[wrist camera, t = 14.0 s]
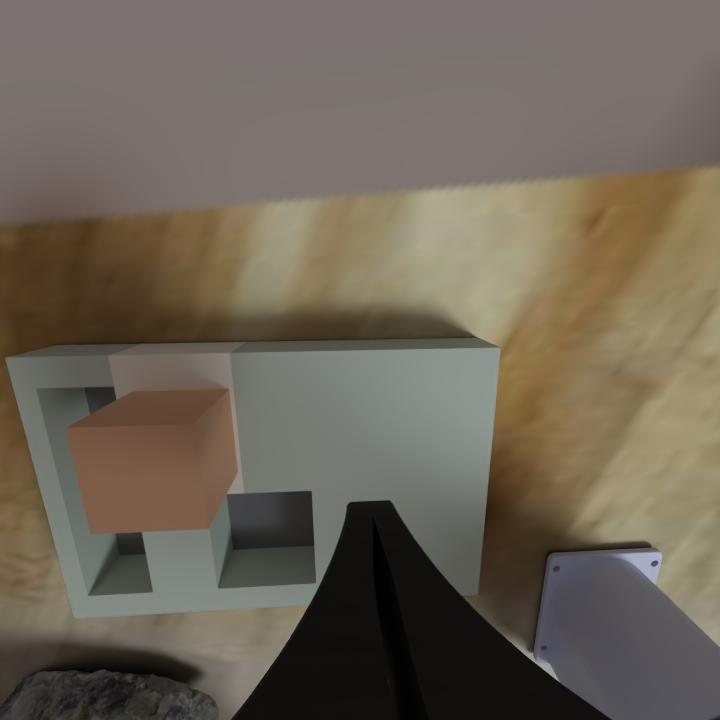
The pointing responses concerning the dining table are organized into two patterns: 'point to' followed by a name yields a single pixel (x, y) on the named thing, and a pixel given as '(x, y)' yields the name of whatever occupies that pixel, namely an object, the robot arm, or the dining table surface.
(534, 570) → the dining table surface
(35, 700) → the mineral rock
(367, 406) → the board
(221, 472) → the terracotta block
